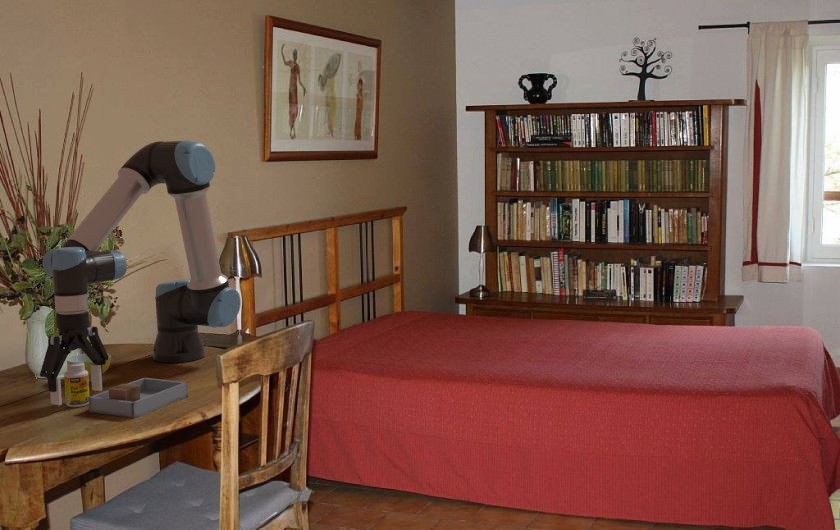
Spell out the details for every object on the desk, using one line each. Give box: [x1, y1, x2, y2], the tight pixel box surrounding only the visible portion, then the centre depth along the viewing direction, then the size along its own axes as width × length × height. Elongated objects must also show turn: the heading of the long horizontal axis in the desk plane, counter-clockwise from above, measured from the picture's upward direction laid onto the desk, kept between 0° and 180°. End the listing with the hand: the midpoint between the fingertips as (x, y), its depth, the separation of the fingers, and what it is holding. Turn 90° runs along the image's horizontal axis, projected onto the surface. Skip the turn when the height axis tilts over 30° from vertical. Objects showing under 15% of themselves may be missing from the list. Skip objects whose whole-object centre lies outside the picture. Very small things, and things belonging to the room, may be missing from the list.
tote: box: [88, 377, 189, 419], centre depth 224 cm, size 20×14×4 cm
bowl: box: [66, 353, 112, 383], centre depth 248 cm, size 11×12×6 cm
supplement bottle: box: [63, 362, 91, 408], centre depth 224 cm, size 6×6×10 cm
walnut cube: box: [108, 383, 140, 402], centre depth 219 cm, size 5×5×5 cm
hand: (77, 397), depth 224 cm, fingers open, 13 cm apart
